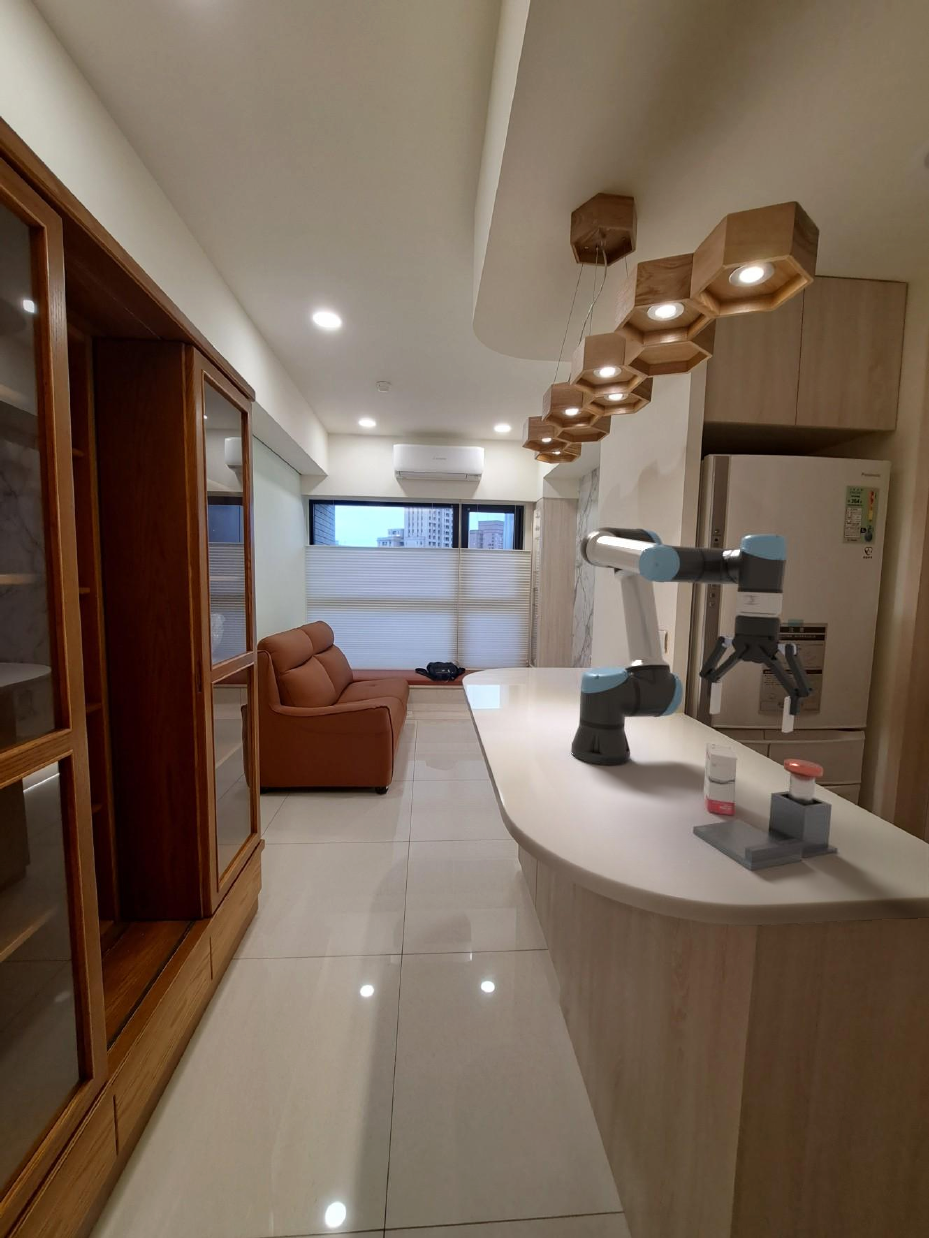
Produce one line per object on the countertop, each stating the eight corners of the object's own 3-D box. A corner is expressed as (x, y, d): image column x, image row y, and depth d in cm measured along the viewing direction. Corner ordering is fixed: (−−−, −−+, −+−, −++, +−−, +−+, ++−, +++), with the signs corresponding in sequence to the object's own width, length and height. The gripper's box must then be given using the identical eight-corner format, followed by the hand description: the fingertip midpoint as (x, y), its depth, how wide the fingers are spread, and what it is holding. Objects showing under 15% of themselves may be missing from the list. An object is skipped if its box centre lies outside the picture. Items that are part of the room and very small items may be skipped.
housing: (760, 834, 86) (763, 791, 86) (792, 828, 89) (795, 787, 88) (803, 858, 79) (806, 811, 78) (837, 851, 81) (840, 806, 81)
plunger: (773, 809, 85) (776, 760, 85) (795, 806, 87) (799, 757, 86) (803, 824, 80) (807, 771, 79) (827, 820, 82) (831, 769, 81)
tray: (693, 832, 86) (694, 815, 86) (739, 825, 89) (740, 809, 89) (750, 870, 75) (752, 850, 74) (801, 860, 78) (803, 841, 78)
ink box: (734, 817, 93) (738, 758, 92) (706, 811, 95) (710, 754, 94) (728, 799, 101) (731, 745, 100) (702, 795, 103) (705, 742, 102)
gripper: (686, 610, 100) (679, 708, 102) (826, 620, 79) (814, 743, 81) (705, 610, 104) (698, 704, 106) (843, 620, 83) (831, 737, 85)
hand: (748, 721), depth 93 cm, fingers open, 13 cm apart
